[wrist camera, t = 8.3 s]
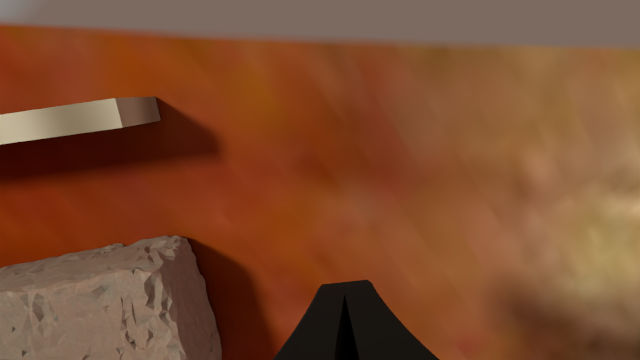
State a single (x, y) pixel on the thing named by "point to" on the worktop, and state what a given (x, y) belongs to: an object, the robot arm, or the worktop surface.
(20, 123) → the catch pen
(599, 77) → the worktop surface
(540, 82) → the worktop surface
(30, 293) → the brick
